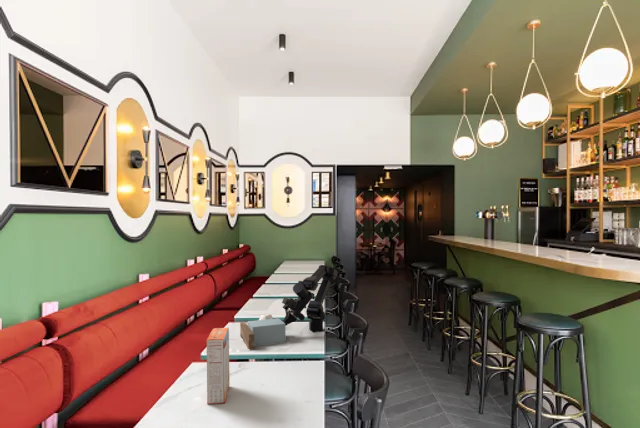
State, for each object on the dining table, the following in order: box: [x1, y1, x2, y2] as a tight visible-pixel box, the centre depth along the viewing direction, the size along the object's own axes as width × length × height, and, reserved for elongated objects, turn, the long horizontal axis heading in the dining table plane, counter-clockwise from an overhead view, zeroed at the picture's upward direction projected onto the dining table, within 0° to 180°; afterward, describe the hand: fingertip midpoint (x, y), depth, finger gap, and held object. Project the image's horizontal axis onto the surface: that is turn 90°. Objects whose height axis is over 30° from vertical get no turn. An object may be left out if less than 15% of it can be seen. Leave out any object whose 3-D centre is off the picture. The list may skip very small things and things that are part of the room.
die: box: [258, 313, 274, 320], centre depth 217 cm, size 8×9×10 cm
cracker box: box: [205, 327, 230, 405], centre depth 135 cm, size 14×6×21 cm, turn 6°
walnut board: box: [239, 321, 255, 350], centre depth 194 cm, size 2×24×7 cm, turn 20°
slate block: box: [247, 317, 286, 347], centre depth 197 cm, size 16×12×9 cm
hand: (282, 325), depth 200 cm, fingers closed, pressing on slate block
